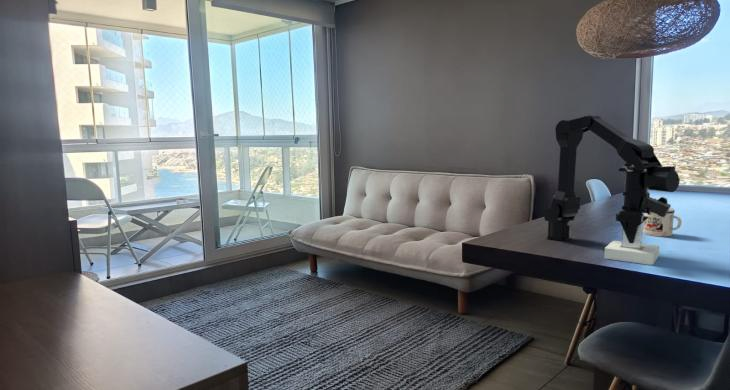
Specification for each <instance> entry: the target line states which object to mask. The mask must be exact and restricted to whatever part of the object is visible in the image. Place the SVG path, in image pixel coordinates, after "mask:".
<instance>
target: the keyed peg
mask: <svg viewBox="0 0 730 390" xmlns="http://www.w3.org/2000/svg"><path fill="white" fill-rule="evenodd" d="M643 231H644V222H643V223H642V224H640V225H639V226H638V229H637V233H636V236H635V240H634V243H629V241H628V239H627V237H626V234H625V232H624V230H623V229H622V233H621V234H622V236H621V241H622V247H623V248H631V249H639V250H641V246H642V244H643V242H642V241H643V233H644V232H643Z"/></svg>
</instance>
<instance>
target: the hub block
mask: <svg viewBox="0 0 730 390" xmlns="http://www.w3.org/2000/svg"><path fill="white" fill-rule="evenodd" d="M659 256H660V245H657V244H647V243H642V246H641V250H639V249H631V248H623V247H622V240H615V239H613V240H612V241H611V242H610V243H609V244H608V245H606V246H605V247H604V256H603V257H604V259H607V260H614V261H620V262H627V263H635V264H640V265H641V264H642V265H643V264H644V265H648V266H649V265H650V266H654V264H655V262H656V261H657V259H658V258H659Z"/></svg>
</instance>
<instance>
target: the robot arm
mask: <svg viewBox="0 0 730 390" xmlns="http://www.w3.org/2000/svg"><path fill="white" fill-rule="evenodd" d="M554 129H555V140H556V141H557V143H558V145H559V162H558V163H559V164H558V165H559V166H558V180H557V191H556V193H555V194H554V196H553V197H552V199H551V200H552V201H551V205H550V208H548V209H547V211H546V212H544V213H543V217H544V221H545V222H548V225H547V228H548V229H547V236H546V237H545V239H548V240H553V241H556V240H557V241H561V242H562V241H564V242H567V241H568V240H570V239H572V229H573V226H572V225H571V221H574V220H575V218H576V215H577V214H578V213H579V210H580V209H581V205H580V204H581V197H580V196H577V195H576V193H575V178H576V165H577V163H576V162H577V150H578V149H577V148H578V146H579V145H580V144H581V142H582V140H583V136H584V134H585V133H587V132H589V131H590V132H591V133H593V134H594V135H596V136H597V137H599V138H600V139H602V140H603V141H604V142H606V143H607V144H608V145H610V146H611V147H612V148H614V149H615V150H616V153H617V155H618V157H620V159H621V160H622V161H623V162H624V164H623V165H622V166H621V167H619V168H618V172H624V173H625V177H624V178H625V179H624V188H623V189H624V190H623V191H622V196H623V205H622V206H621V210H619V211H618V212H617V213H615V221H616V222H620V225H621V227H622V231H623V230H624V232H625V234H626V237H627V239H628V241H629V243H634V240H635V236H636V233H637V229H638V226H639V225H640V224H642V223H643V224H644V221H645V220H646V219H647V218H648V217H647V216H645V213H648V215H650V214H651V212H653V213H655V214H658V216H661V217H665V216H666V214H667V212H668V210H669V209H670V208H672V207H671V206H672V205H671V204H670V203H668V198H666V197H664V196H661V197H659V198H658V199H657V198H653V197H652V196H651V195H650V194H651V193H650V192H649V190H650V191H657V192H658V191H659V192H666V193H667V192H668V193H673V192H675V191H677V190H678V188H679V185H680V182H681V181H680V180H681V179H680V176H679V174H678V172H677V171H676V166H674V165H673V166H671V165H669V166H664V165H662V163H661V162H660V159H658V157H657V155H656V154H655V149H654V146H652V145H651V144H649V143H647V142H645V141H642V140H639V139H635V138H632V137H630V136H628V135H626V134H625V133H623V132H622V131H620V130H619V129H617V128H616V127H614V126H613V125H612V124H610V123H608V121H605V120H604V119H602V117H601V116H599V115H597V114H594V115H593V114H591V115H590V114H587V115H585V116H581V117H578V118H574V119H561V120H560V121H558V123H557V124H556V125H555V128H554ZM650 196H651V197H650Z"/></svg>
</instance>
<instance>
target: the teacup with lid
mask: <svg viewBox="0 0 730 390" xmlns="http://www.w3.org/2000/svg"><path fill="white" fill-rule="evenodd" d="M675 212H676V211H675V208H672V207H670V209H669V210H668V212H667V214H666V216H665V217H661V216H658V214H655V213H653V212H651V214H650V215H648V213H644V216H647V217H648V218H647V219H646V220H645V221H644V222H643V232H642V233H643V234H644V235H648V236H653V237H661V238H662V237H664V238H665V237H671V236H672V235H673V231H676V230H679V229H680V228H681V226H682V223H683V222H682V218H681V217H680V216H677V215H675ZM674 219H676V220H677V225H676V227H674Z"/></svg>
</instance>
